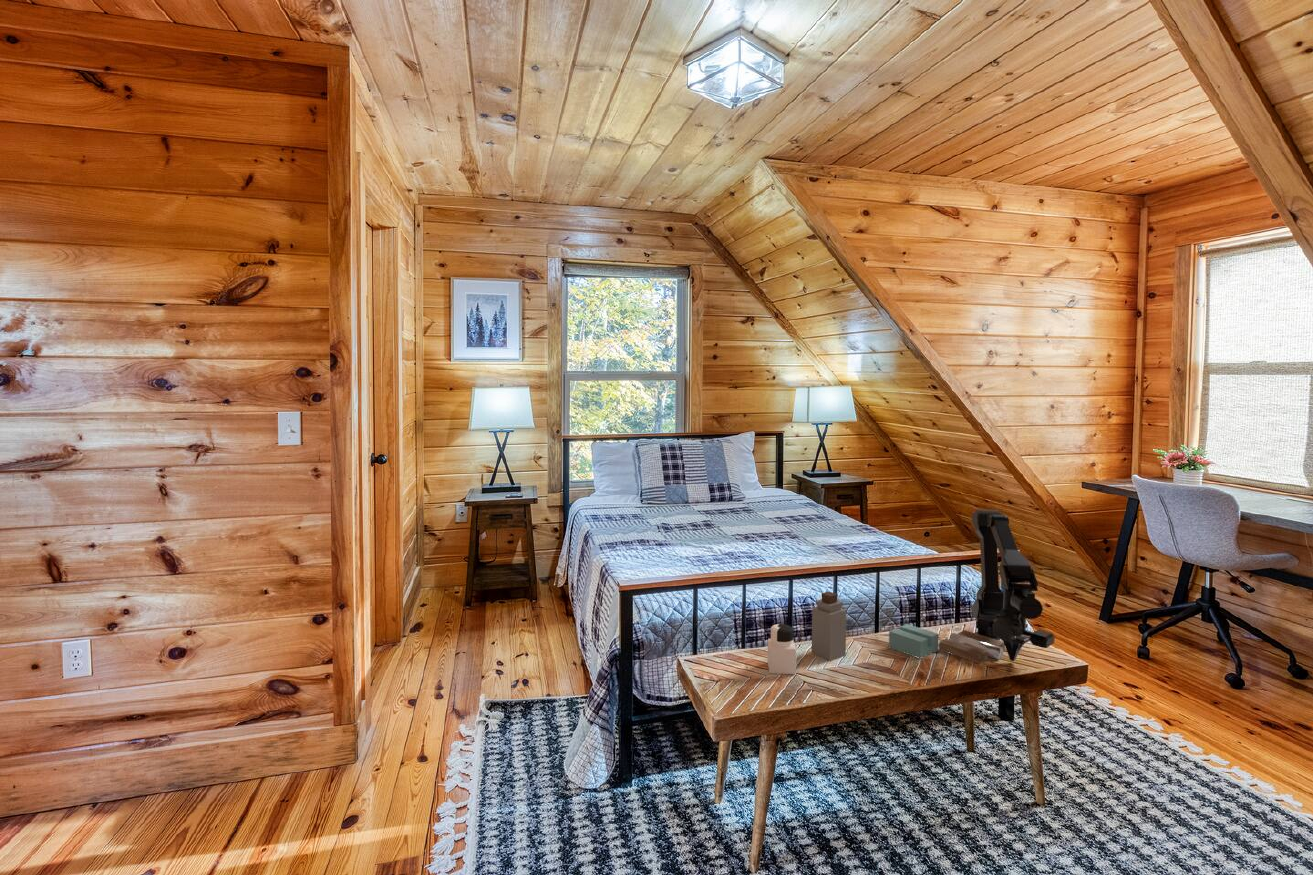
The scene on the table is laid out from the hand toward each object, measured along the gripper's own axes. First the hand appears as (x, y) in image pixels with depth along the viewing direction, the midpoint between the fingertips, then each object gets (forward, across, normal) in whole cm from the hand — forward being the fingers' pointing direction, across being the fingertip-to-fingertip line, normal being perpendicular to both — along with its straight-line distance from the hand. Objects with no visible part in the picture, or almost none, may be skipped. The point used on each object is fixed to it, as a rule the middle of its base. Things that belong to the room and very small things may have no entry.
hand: (1012, 660), depth 178 cm
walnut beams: (+1, -11, 0) cm, 11 cm away
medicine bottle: (+1, -38, -54) cm, 66 cm away
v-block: (+1, -22, -13) cm, 26 cm away
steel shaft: (+1, -10, 0) cm, 10 cm away
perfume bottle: (+1, -36, -36) cm, 50 cm away
